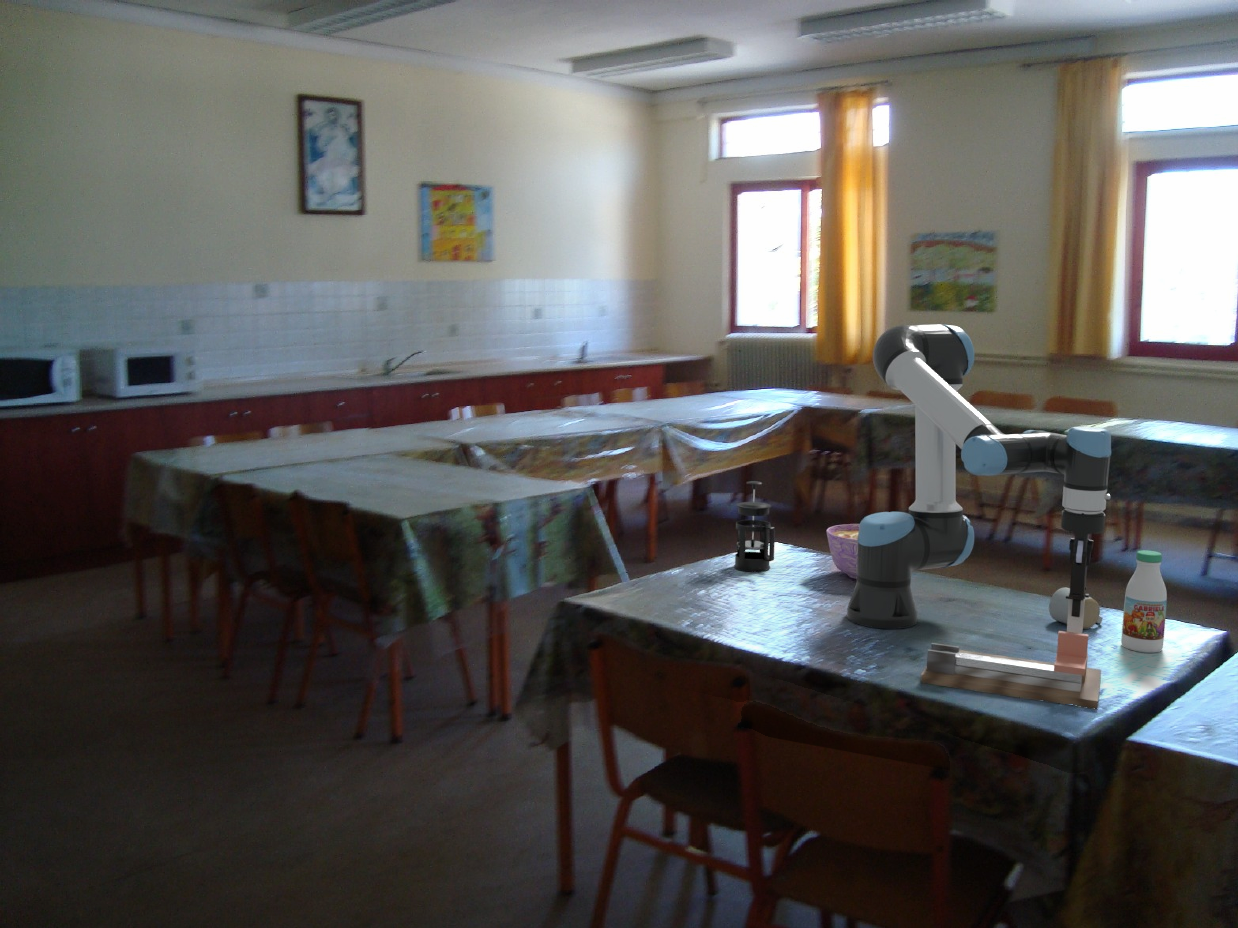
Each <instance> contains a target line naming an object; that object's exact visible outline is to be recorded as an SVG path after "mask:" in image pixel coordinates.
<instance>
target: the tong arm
mask: <svg viewBox="0 0 1238 928" xmlns="http://www.w3.org/2000/svg"><path fill="white" fill-rule="evenodd" d="M944 652H951V653H956V659H955V665H961V666H968V667H975V668H982V669H988V670H995V671H1002V672H1009V673H1016V674H1023V675H1030V676H1036V677H1043V678H1050V679H1057V680H1064V681H1071V682H1078V683H1081V679H1082V675H1077V674H1070V673H1063V672H1056V671H1054V666H1052V665H1045V664H1038V663H1031V662H1024V661H1017V660H1010V659H1003V658H996V657H989V656H981V655H974V654H967V653H960V652H953V651H946V650H944Z"/></svg>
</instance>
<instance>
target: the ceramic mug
mask: <svg viewBox="0 0 1238 928" xmlns="http://www.w3.org/2000/svg"><path fill="white" fill-rule="evenodd" d="M1069 593H1070V587H1061V588H1059V589H1057V590H1055V592H1054V593H1053V594H1052V596H1051V597H1050V600H1049V604H1048V610H1049V615H1050V617H1051V618H1052V619H1053V620H1054V621H1056V622H1059V623H1062V624H1065V625H1067V620H1068V607H1069V599H1066V595H1069ZM1100 612H1101V610H1100V605H1099V603H1098V602H1097V600H1096V599H1093V597H1091V596H1089V598H1086V597H1085V605H1084V618H1083V630H1088V629H1090V628H1092V627H1093V626H1095V624H1098V625H1100V624H1101V623H1102V621H1103V618H1104V617H1102V616H1100Z"/></svg>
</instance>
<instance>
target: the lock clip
mask: <svg viewBox="0 0 1238 928" xmlns="http://www.w3.org/2000/svg"><path fill="white" fill-rule="evenodd" d="M1057 636H1058V637H1057V645H1056V646H1057V650H1056V657H1055V660H1054V663H1055V664H1054V671H1056V672H1063V673H1070V674H1077V675H1085V668H1086V661H1087V662H1088V658H1087V652H1088V647H1089V645H1088V644H1089V634H1086V633H1082V634H1081V633H1074V632H1067V631H1064V630H1058V633H1057Z"/></svg>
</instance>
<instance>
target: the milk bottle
mask: <svg viewBox="0 0 1238 928" xmlns="http://www.w3.org/2000/svg"><path fill="white" fill-rule="evenodd" d="M1162 560H1163V555H1162V553H1161V552H1159V551H1154V550H1147V549H1143V550H1138V551H1136V560H1135V562H1136V564H1137V565H1136V568H1135V570H1134V573H1133V575H1132V576H1131V577H1130V579H1129V581H1128V583H1127V585H1126V588H1125V593H1124V594H1125V595H1124V602H1123V604H1124V605H1123V614H1122V627H1121V628H1122V629H1121V641H1120V643H1121V646H1123V648H1125V649H1127V650H1130V651H1132V652H1133V651H1134V652H1138V653H1148V654H1150V653H1154V654H1155V653H1159V652H1162V650H1163V647H1164V640H1165V630H1166V629H1165V626H1166V625H1165V624H1166V616H1167V615H1166V614H1167V604H1168V603H1167V602H1168V601H1167V599H1168V596H1167V595H1168V594H1167V593H1168V592H1167V588H1166V584H1165V582H1164V579H1163V577H1162V573H1161V569H1160V568H1161V567H1160V566H1161V565H1162Z"/></svg>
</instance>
